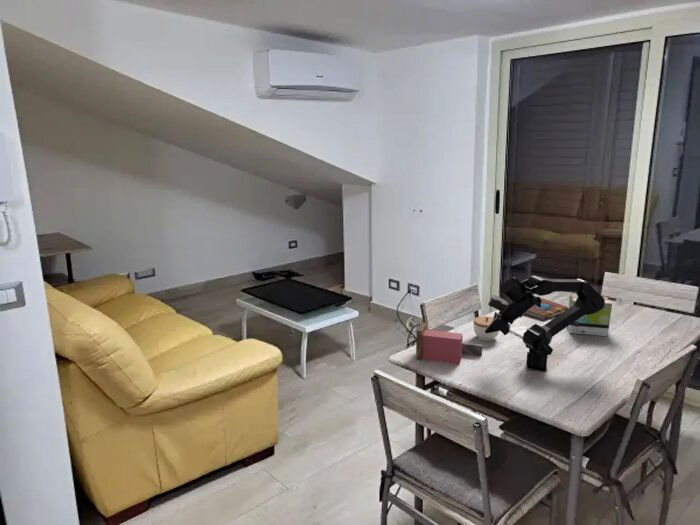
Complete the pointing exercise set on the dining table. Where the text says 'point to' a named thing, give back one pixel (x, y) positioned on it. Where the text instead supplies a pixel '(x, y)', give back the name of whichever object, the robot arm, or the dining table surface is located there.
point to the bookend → (466, 347)
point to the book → (546, 310)
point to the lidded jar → (484, 328)
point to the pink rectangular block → (442, 346)
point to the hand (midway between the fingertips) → (485, 332)
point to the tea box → (592, 320)
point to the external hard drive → (518, 330)
